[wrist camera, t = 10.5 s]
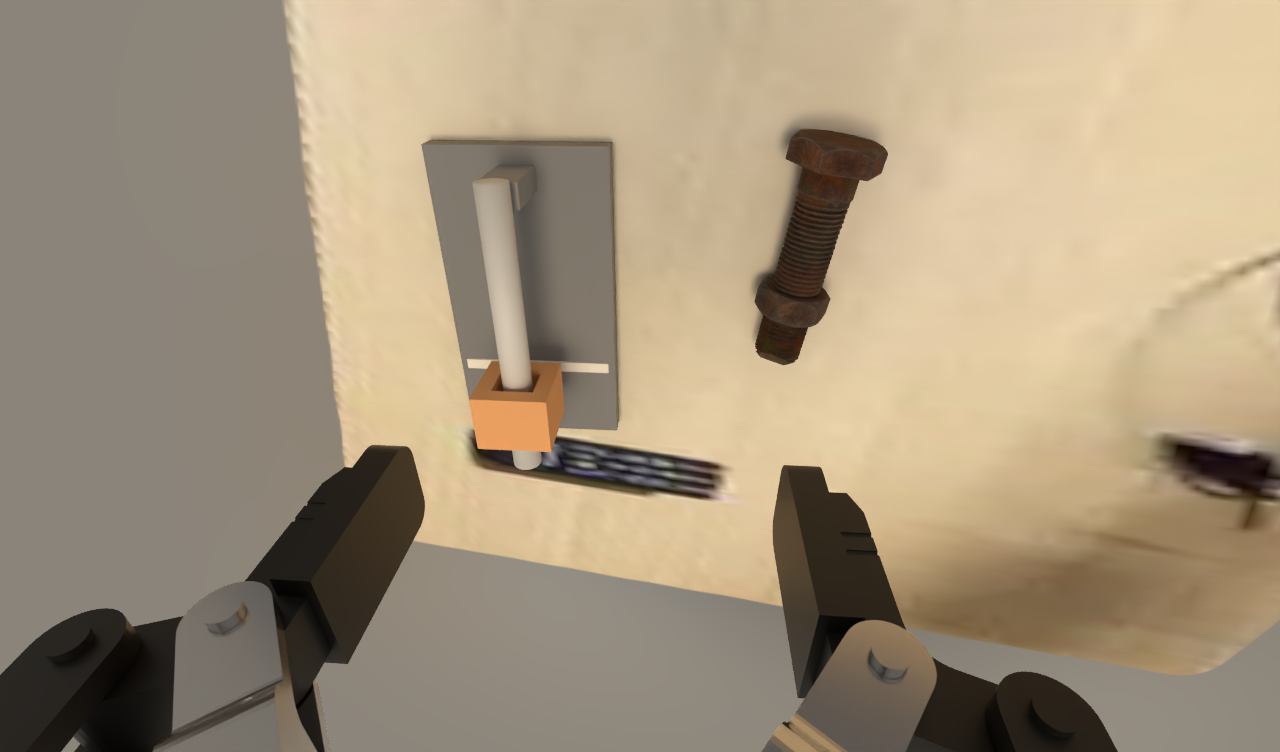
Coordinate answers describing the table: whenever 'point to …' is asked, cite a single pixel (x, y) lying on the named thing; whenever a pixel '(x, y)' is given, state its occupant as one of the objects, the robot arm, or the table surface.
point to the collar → (518, 410)
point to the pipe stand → (532, 266)
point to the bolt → (812, 236)
